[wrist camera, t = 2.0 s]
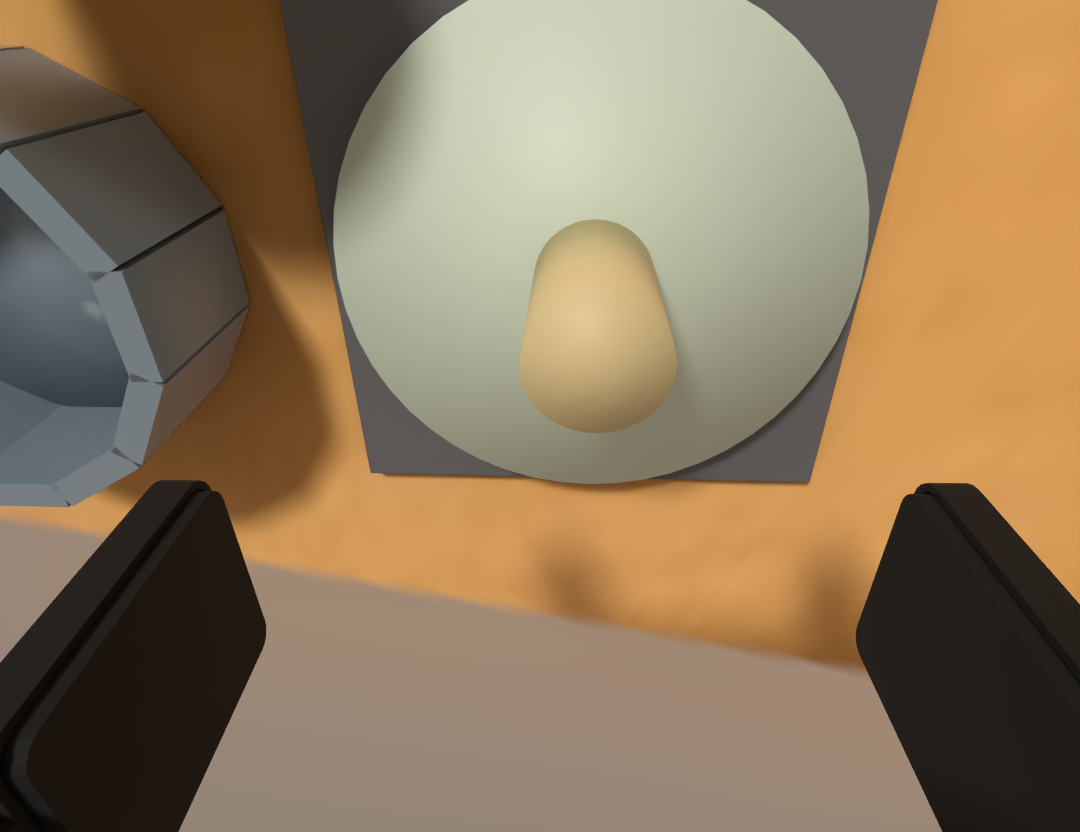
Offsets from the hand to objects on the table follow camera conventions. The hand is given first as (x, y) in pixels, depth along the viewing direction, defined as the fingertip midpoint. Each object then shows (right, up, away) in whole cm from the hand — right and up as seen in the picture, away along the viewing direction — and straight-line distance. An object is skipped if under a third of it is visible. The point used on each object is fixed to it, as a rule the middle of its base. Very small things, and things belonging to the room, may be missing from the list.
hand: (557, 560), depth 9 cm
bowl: (-15, +7, +10) cm, 19 cm away
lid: (+1, +6, +9) cm, 11 cm away
